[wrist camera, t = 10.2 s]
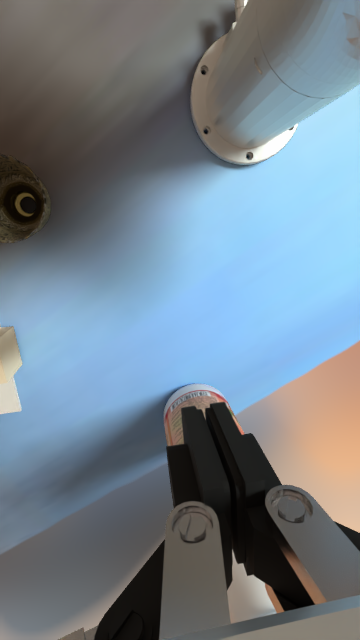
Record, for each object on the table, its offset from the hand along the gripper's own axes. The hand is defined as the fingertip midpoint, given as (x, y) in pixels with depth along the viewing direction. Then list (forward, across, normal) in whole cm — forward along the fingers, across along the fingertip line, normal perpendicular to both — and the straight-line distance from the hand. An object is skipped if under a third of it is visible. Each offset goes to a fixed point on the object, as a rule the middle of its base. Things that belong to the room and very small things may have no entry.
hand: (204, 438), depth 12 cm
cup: (+29, +13, -11) cm, 34 cm away
